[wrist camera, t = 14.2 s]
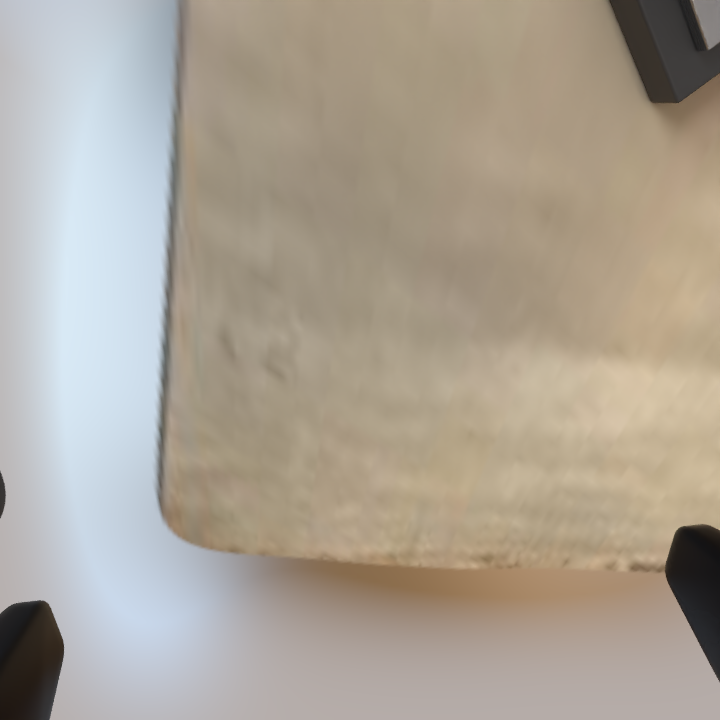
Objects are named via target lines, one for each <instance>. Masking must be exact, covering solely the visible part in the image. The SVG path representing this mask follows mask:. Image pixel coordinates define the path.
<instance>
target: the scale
mask: <svg viewBox="0 0 720 720" xmlns="http://www.w3.org/2000/svg"><path fill="white" fill-rule="evenodd" d="M610 2H611V4H612V7H613V9H614V12H615V14H616V16H617V19H618V21H619V24H620V26H621V29H622V31H623V33H624V36H625V38H626V41H627V43H628V46H629V48H630V50H631V53H632V55H633V58H634V60H635V63H636V65H637V68H638V70H639V72H640V75H641V77H642V80H643V82H644V85H645V87H646V89H647V92H648V94H649V97H650V99H651V101H652V102H653V103H679V102H681V101H682V100H683V99H685V98H686V97H687V96H689V95H690V94H691V93H693V92H694V91H696V90H697V89H698V88H700V87H701V86H702V85H704V84H705V83H706V82H708V81H709V80H711V79H712V78H713V77H715V76H716V75H717V74H719V73H720V0H610Z"/></svg>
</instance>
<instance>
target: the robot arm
mask: <svg viewBox="0 0 720 720" xmlns="http://www.w3.org/2000/svg"><path fill="white" fill-rule="evenodd" d="M665 573H666V578H667V581H668V584H669V585H670V588H671V590H672V592H673V593H674V595H675V597H676V599H677V601H678V603H679V605H680V607H681V609H682V611H683V613H684V615H685V616H686V618H687V621H688V623H689V624H690V626H691V628H692V630H693V632H694V634H695V636H696V638H697V640H698V642H699V644H700V646H701V648H702V649H703V652H704V653H705V655H706V657H707V659H708V661H709V663H710V665H711V667H712V669H713V670H714V672H715V674H716V676H717V678H718V680H719V681H720V530H718V529H716V528H714V527H712V526H709V525H704V524H700V525H691V526H683V527H680V528H679V529H678V530H677V531H676V532H675V535H674V538H673V541H672V545H671V548H670V551H669V554H668V558H667V561H666V565H665ZM63 656H64V644H63V639H62V636H61V634H60V631H59V628H58V626H57V623H56V621H55V618H54V616H53V613H52V610H51V608H50V606H49V604H48V603H46V602H45V601H41V600H39V601H31V602H22V603H16V604H13V605H11V606H9V607H8V608H6V609H5V610H4V611H3V612H2V613H1V614H0V720H49V719H50V715H51V711H52V706H53V702H54V697H55V693H56V688H57V684H58V680H59V675H60V670H61V667H62V662H63Z"/></svg>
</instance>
